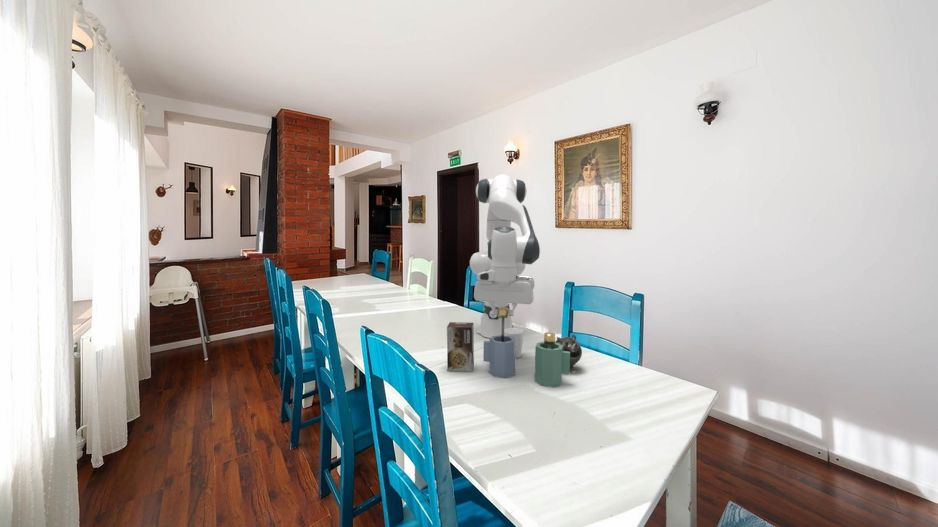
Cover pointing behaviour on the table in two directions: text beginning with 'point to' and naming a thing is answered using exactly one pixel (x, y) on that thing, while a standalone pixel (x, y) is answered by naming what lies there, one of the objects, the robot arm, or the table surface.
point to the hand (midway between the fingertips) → (503, 315)
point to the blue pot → (500, 356)
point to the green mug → (551, 364)
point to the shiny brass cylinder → (549, 339)
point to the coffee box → (460, 346)
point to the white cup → (519, 339)
